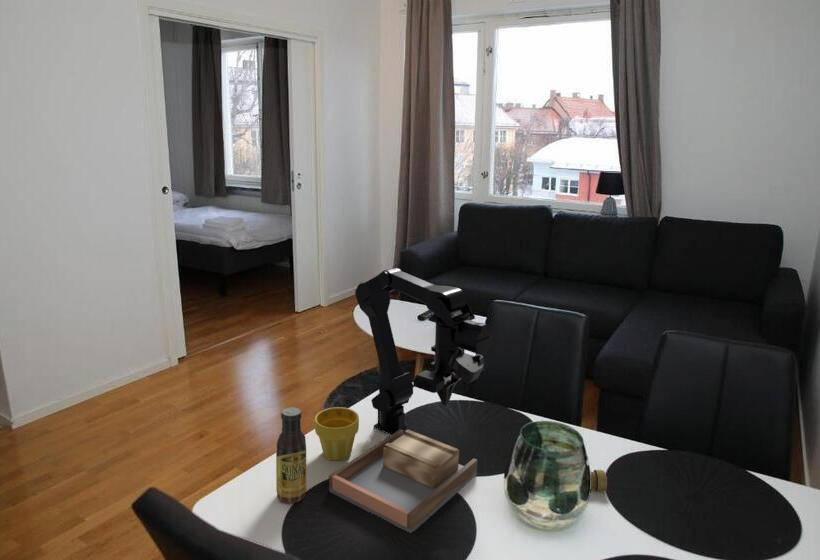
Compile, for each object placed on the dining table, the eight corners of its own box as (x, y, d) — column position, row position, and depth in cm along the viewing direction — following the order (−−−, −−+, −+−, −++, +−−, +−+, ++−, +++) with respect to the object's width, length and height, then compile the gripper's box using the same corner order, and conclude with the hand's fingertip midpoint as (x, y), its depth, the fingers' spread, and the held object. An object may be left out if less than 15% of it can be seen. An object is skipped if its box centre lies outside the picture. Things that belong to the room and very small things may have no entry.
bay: (329, 491, 128) (328, 475, 127) (400, 443, 147) (400, 429, 146) (410, 533, 115) (411, 516, 114) (476, 475, 134) (477, 459, 133)
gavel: (544, 431, 148) (585, 433, 148) (543, 448, 149) (583, 450, 149) (561, 474, 128) (608, 476, 127) (559, 494, 129) (606, 496, 128)
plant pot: (335, 471, 135) (335, 432, 133) (306, 454, 142) (305, 417, 139) (367, 452, 143) (367, 416, 140) (338, 437, 149) (338, 402, 147)
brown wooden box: (383, 465, 136) (383, 445, 134) (409, 447, 143) (409, 428, 142) (433, 488, 127) (434, 467, 126) (458, 467, 135) (459, 448, 134)
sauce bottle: (281, 508, 122) (277, 421, 117) (273, 492, 127) (269, 408, 122) (311, 500, 125) (309, 415, 119) (302, 484, 130) (299, 402, 125)
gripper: (455, 364, 124) (452, 431, 128) (498, 339, 138) (494, 400, 142) (412, 351, 130) (411, 415, 134) (457, 328, 145) (455, 387, 149)
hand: (445, 404), depth 140 cm, fingers closed
